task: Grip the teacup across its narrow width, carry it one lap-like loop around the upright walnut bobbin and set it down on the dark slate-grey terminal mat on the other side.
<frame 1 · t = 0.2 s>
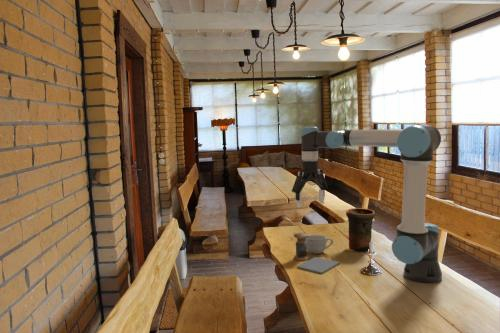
hand: (310, 205, 200), 27 cm above the table, fingers open, 13 cm apart
pad: (318, 265, 197), on the table
vessel: (359, 248, 221), on the table
teacup: (318, 252, 216), on the table
bobbin: (301, 258, 208), on the table
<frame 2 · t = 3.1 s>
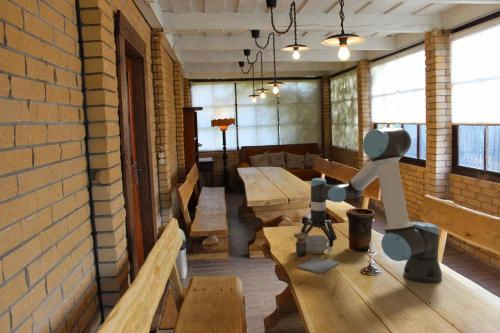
hand: (318, 250, 216), 1 cm above the table, fingers closed on teacup, 12 cm apart
teacup: (319, 252, 216), on the table, touching gripper
everything else where it was.
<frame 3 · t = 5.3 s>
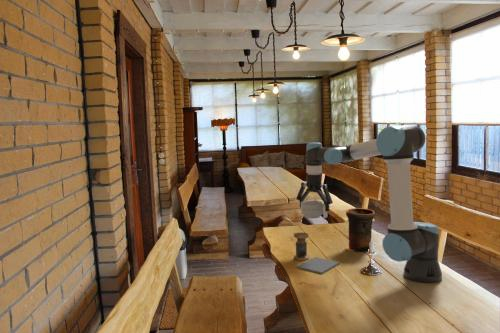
hand: (314, 215, 215), 19 cm above the table, fingers closed on teacup, 12 cm apart
teacup: (315, 218, 214), point 18 cm above the table, touching gripper
everything else where it was.
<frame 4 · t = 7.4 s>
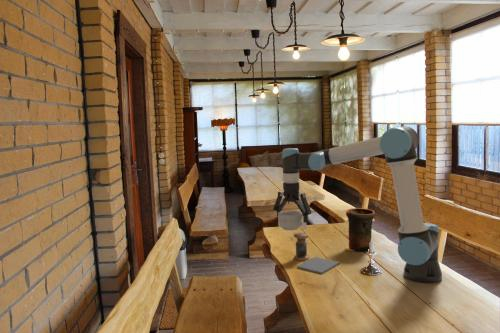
hand: (292, 227, 199), 18 cm above the table, fingers closed on teacup, 12 cm apart
teacup: (293, 229, 198), point 16 cm above the table, touching gripper
everything else where it was.
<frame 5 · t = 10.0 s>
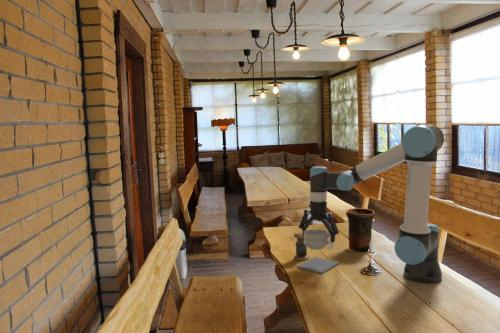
hand: (318, 246, 196), 9 cm above the table, fingers closed on teacup, 12 cm apart
teacup: (319, 248, 196), point 8 cm above the table, touching gripper
everything else where it was.
when the fingers open (2 cm above the table, at t = 12.0 s): teacup stays where it is, resting on pad.
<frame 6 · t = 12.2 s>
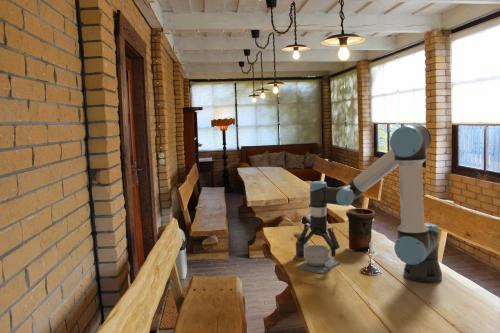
hand: (318, 260, 197), 3 cm above the table, fingers open, 13 cm apart
teacup: (319, 264, 197), point 1 cm above the table, touching pad
everything else where it was.
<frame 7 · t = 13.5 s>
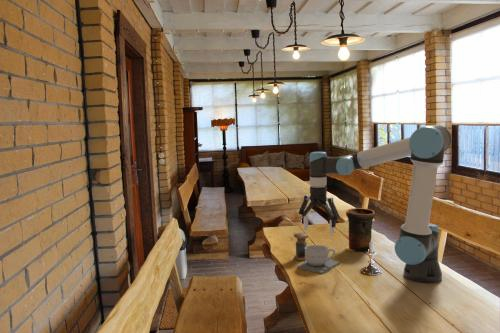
hand: (318, 231, 195), 16 cm above the table, fingers open, 13 cm apart
nothing on the table moved.
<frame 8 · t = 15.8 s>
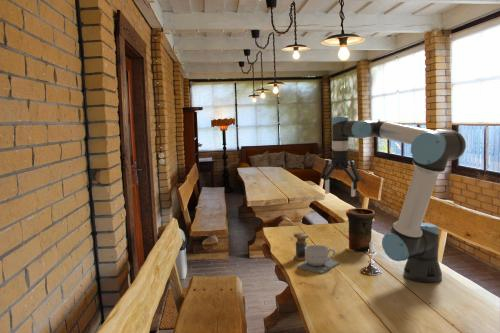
hand: (340, 194, 201), 32 cm above the table, fingers open, 13 cm apart
nothing on the table moved.
at the end: teacup inside the target area on the pad (0.6 cm from its centre), point 0.6 cm above the pad's base; teacup tilted 0°; the gripper is holding nothing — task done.
